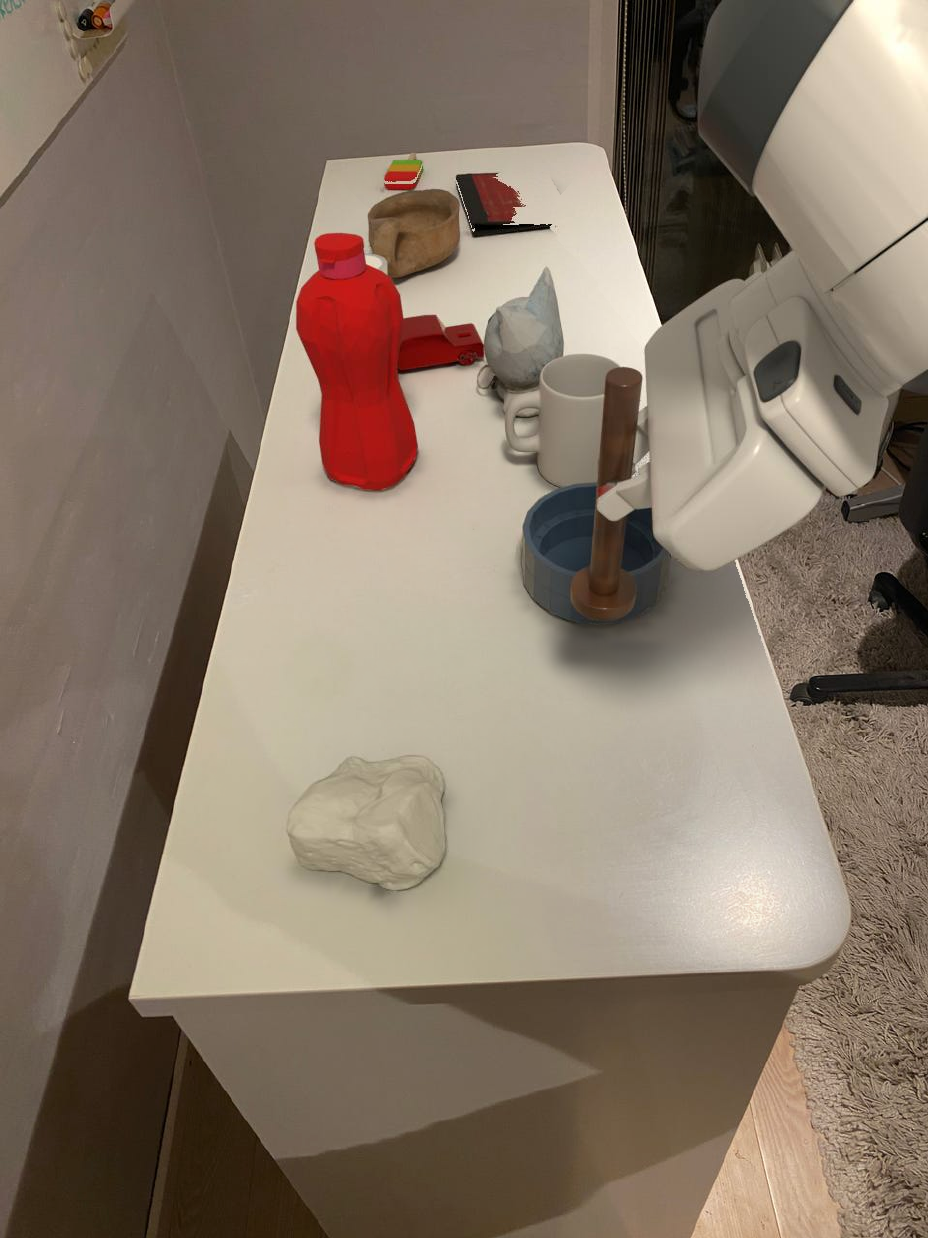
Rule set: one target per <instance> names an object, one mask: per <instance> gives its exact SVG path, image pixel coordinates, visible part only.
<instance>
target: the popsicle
mask: <svg viewBox="0 0 928 1238" xmlns="http://www.w3.org/2000/svg"><path fill="white" fill-rule="evenodd" d="M416 156H417V152H410V154H409V156H408V158H407V159H393V160H392V161H391V163H390V165H389V167H388V169H387V172H386V173H385V175H384V178H383V181H384V180H385V181H388V182H389V181H390V182H391V181H392V182H396V181H411V180H413V179H415V177H417V174H418V172H419V170H420V168H421V165H422V163H423V164H424V162H423V160H422V159H415V158H416ZM423 171H424V165H423V166H422V169H421V171H420V173H419V175H418V178H417V180H416V182H415V183H413V184H385V183H384V182H383V184H384V185H383V186H384V187H385V189H386V190H389V191H390V190H391V191H409V190H415V188H416V186H417V184H418V182H419V181H420V177H421V176H422V173H423Z"/></svg>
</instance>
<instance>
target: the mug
mask: <svg viewBox="0 0 928 1238" xmlns="http://www.w3.org/2000/svg"><path fill="white" fill-rule="evenodd" d="M618 367H621V366H620V364H618V363H617V362H616V361H615V360H612V359H610V358H608V357H605V356H601V355H598V354H593V353H572V354H566V355H563V356H562V357H559V358H556V359H554V360H552V361H551V362H549V363H548V364H547V365H545V367H544V368H543V369H542V371H541V374H540V380H539V388H538V390H537V391H532V392H527V393H523V394H520V395H517V396H516V397H514V398H513V399H512V400H511V401H510V403H509V405H508V407H507V410H506V414H505V416H504V431H505V436H506V437H505V438H506V440H507V443H508V445H509V446H510V448H511V449H512V450H513V451H516V452H519V453H537V468H538V471H539V474H540V475H541V477H543V479H544V480H545V481H547V483H550V484H551V485H553V486H555V487H558V488H562V487H566V486H569V485H573V484H579V483H592V482H597V478H598V473H597V464H598V456H599V453H600V441H601V428H602V416H603V403H604V391H605V378H606V374H607V373H608V372H609V371H610V370H611V369H614V368H618ZM526 408H534V409H538V410H539V414H538V424H537V433H536V434H534V435H532V436H529V437H528V436H527V437H520V436H519V435H518V434H517V433H516V430H515V421H516V417H517V416H516V415H517V413H518V412H519V411H520V410H522V409H526Z"/></svg>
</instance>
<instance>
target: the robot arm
mask: <svg viewBox="0 0 928 1238" xmlns="http://www.w3.org/2000/svg"><path fill="white" fill-rule="evenodd" d="M700 59H701V60H700V67H699V76H698V89H697V132H698V135H699V137H700V138H701V139H702V140H703V141H704V143H705V144H706V145H707V146H708V148H710V150H711V151H712V152H713V153H714V154H715V156H716V157H717V158H718V159H719V160H720V161H721V162H722V164H723V165H724V166H725V167H726V169H728V171H729V172H730V173H731V174H732V175H733V177H734V178H735V179H736V180H737V181H738V183H739V184H740V185H741V186H742V188H744V190H745V191H746V192H747V193H748V195H750V196H751V197H753V198H755V197H756V199H757V200H758V201H759V203H760V204H761V205H762V207H763V209H764V210H765V211H766V213H767V214H768V216H769V217H770V218H771V220H772V221H773V223H774V224H775V226H776V227H777V229H778V230H779V232H780V233H781V235H782V236H783V238H784V239H785V241H786V242H787V243H788V245H789V246H790V248H791V250H790V251H789V252H788V253H786V254H785V255H784V256H782V257H781V258H780V259H779V260H778V261H776V262H775V263H774V264H772V265H771V266H769V268H767V270H765V271H764V272H762V271H761V270H759V271H757V272H755V273H753V274H752V275H750V276H748V277H747V278H746V279H745V280H744V279H742V278H741V279H740V278H732V279H730V280H727V281H725V282H723V283H721V284H719V285H717V286H716V287H714V288H713V289H711V290H710V291H708V292H706V293H705V294H703V295H701V297H699V298H697V300H695V301H693V302H692V303H691V304H689V305H687V306H686V307H685V308H684V309H682V310H681V311H679V312H678V313H676V314H675V315H674V316H672V318H670V319H669V320H668V321H666V322H665V323H663V324H662V325H661V326H660V327H658V329H657V330H655V332H654V333H653V334H652V335H651V336H650V338H649V339H648V341H647V342H646V344H645V345H644V349H643V350H644V352H643V353H644V367H645V368H644V372H645V389H646V390H645V393H646V406H644V407H643V408H642V409H639V414H638V423H637V432H636V440H635V449H634V458H633V466H632V475H631V479H628V480H625V481H622V480H621V479H620V478H618V477H617V476H616V477H614V478H613V479H611V480H609V481H608V482H607V483H606V485H603V486H601V487H600V488H599V489H598V490H597V510H598V511H599V512H600V513H601V514H603V515H604V516H605V517H606V518H607V519H608V520H610V521H618V520H620V519H621V518H623V517H624V516H626V515H627V514H629V513H630V512H632V511H633V510H635V509H644V508H652V521H653V535H654V537H655V539H656V540H657V541H658V542H659V544H661V545H662V546H663V547H664V548H665V549H666V550H667V551H668V552H669V553H670V554H671V557H674V558H675V559H676V560H677V561H678V562H680V563H681V564H682V565H683V566H684V567H685V568H687V569H689V570H692V571H697V572H698V571H699V572H711V571H715V570H718V569H720V568H722V567H725V566H727V565H730V564H731V563H733V562H735V561H736V560H738V559H740V558H742V557H744V556H746V555H747V554H749V553H751V552H753V551H755V550H756V549H758V548H760V547H761V546H763V545H765V544H766V543H768V542H770V541H772V540H773V539H774V538H776V537H778V536H779V535H781V534H782V533H784V532H786V531H787V530H789V529H790V528H792V527H794V526H795V525H796V524H798V523H799V522H801V521H802V520H803V519H805V517H806V516H808V515H809V514H810V513H811V512H812V511H813V509H814V508H815V507H816V506H817V504H818V503H819V502H820V500H821V498H822V495H823V492H824V487H825V488H826V489H827V490H828V491H830V492H831V493H832V494H833V495H834V496H836V497H844V496H848V495H850V494H852V493H854V492H856V491H858V490H859V489H861V488H862V487H864V486H865V485H867V484H868V483H869V482H871V480H872V479H873V477H874V476H875V473H876V469H877V466H878V465H877V463H878V455H879V448H880V440H881V435H882V430H883V426H884V421H885V417H886V414H887V411H888V408H889V399H888V397H889V396H890V395H892V394H894V393H896V392H897V391H898V390H900V389H902V390H905V391H908V392H911V393H914V394H918V395H923V396H928V0H721V1H720V2H719V4H718V6H716V8H715V9H714V11H713V13H712V14H711V16H710V18H709V21H708V24H707V28H706V31H705V37H704V41H703V46H702V52H701V58H700ZM647 454H649V455H648V456H649V461H648V462H647V463H645V464H644V465H642V466H641V467H640V468H639V469H638V473H637V474H638V475H637V476H635V477H632V476H633V475H634V474H636V466H637V465H638V464H639V463H640V462H641V460H643V458H644V457H645V456H647ZM598 466H599V456H598V464H597V473H598Z"/></svg>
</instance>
